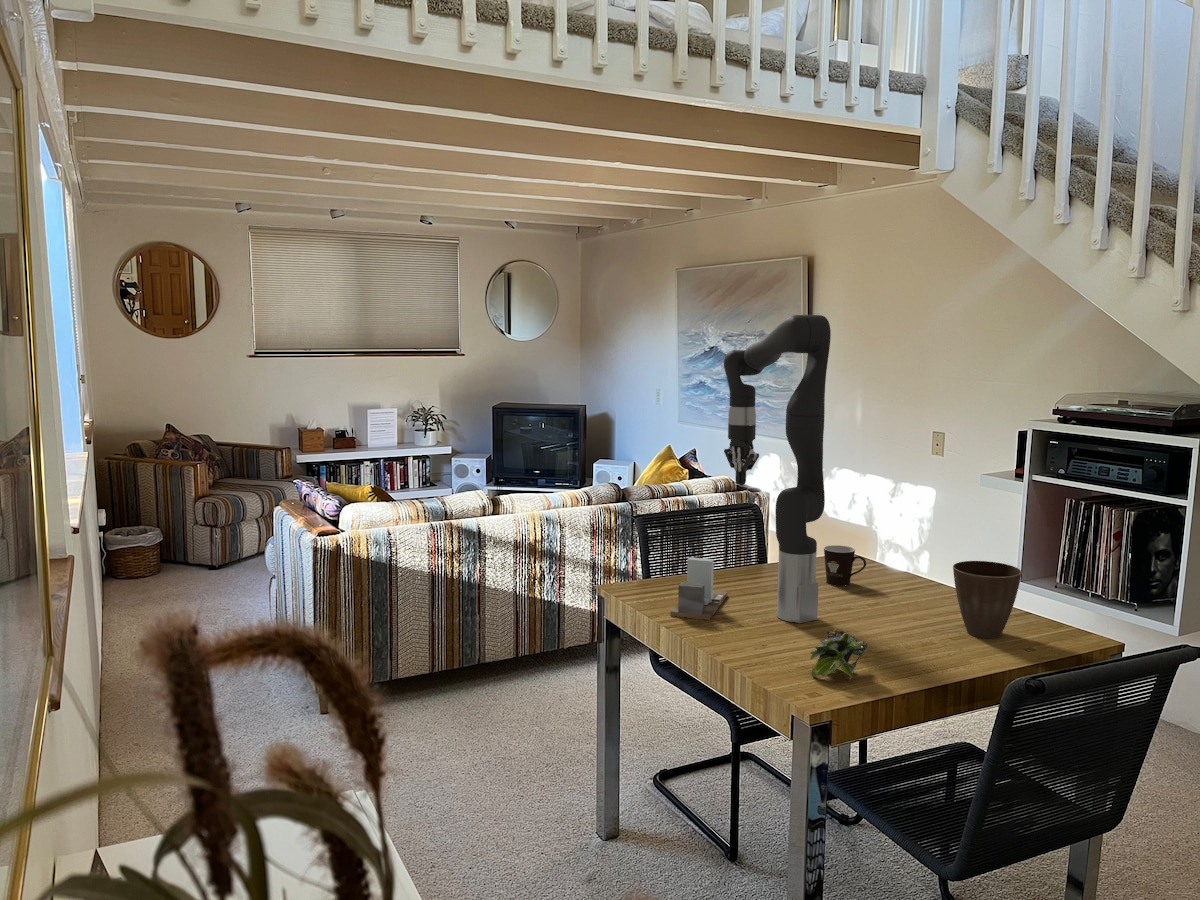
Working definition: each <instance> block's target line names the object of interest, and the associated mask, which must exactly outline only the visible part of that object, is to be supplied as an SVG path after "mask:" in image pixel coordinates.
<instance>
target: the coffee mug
mask: <svg viewBox="0 0 1200 900" xmlns="http://www.w3.org/2000/svg"><path fill="white" fill-rule="evenodd" d="M855 552H856V549H855V548H854V547H851V546H847V545H841V544H840V545H838V544H834V545H831V544H830V545H826V546H824V547H823V554H824V567H825V577H826V578H825V580H826V583H827V584H828V585H830V584H831V586H834V585H836V587H847V586H849V585H850V584H851V577H852V576H853V575H856V574H858V573H860V572H862V571H863V570H865V568H866V566H867V562H866V559H865V558H864V557H863V556H860V555H856V556H855ZM856 559H861V561H862V562H863V566H862V567H861V568H860V569H858V570H856V571H854V572H852V571H853V565H854V562H855V560H856ZM845 585H846V586H845Z"/></svg>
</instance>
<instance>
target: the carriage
mask: <svg viewBox="0 0 1200 900" xmlns="http://www.w3.org/2000/svg"><path fill="white" fill-rule="evenodd" d="M714 562H715V560H714V559H713V558H703V557H702V558H701V557H693V556H692V557H691V556H689V557H688V558H687V565H686V566H687V568H686V569H687V570H686V573H687V575H686V583H696V584H705V598H704V605H708V604H709V603H711V602H712V601H714V602H720V600H719V599H713V590H714Z"/></svg>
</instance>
